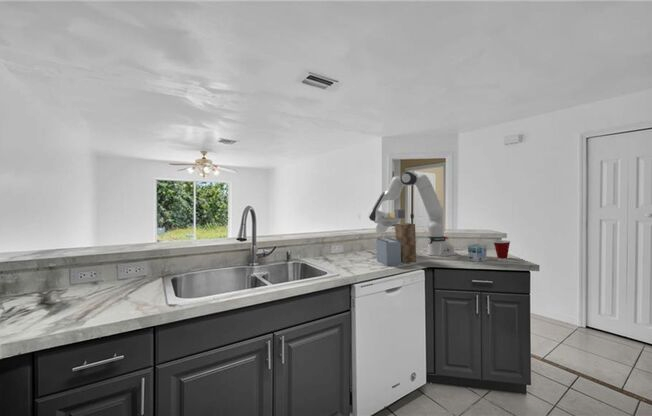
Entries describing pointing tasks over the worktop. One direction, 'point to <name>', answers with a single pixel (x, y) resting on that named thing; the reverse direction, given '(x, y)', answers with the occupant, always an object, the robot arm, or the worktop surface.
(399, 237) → the walnut post
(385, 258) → the slate ledge
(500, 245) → the plastic cup
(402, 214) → the ochre bar
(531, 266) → the worktop surface
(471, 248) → the light bulb box
